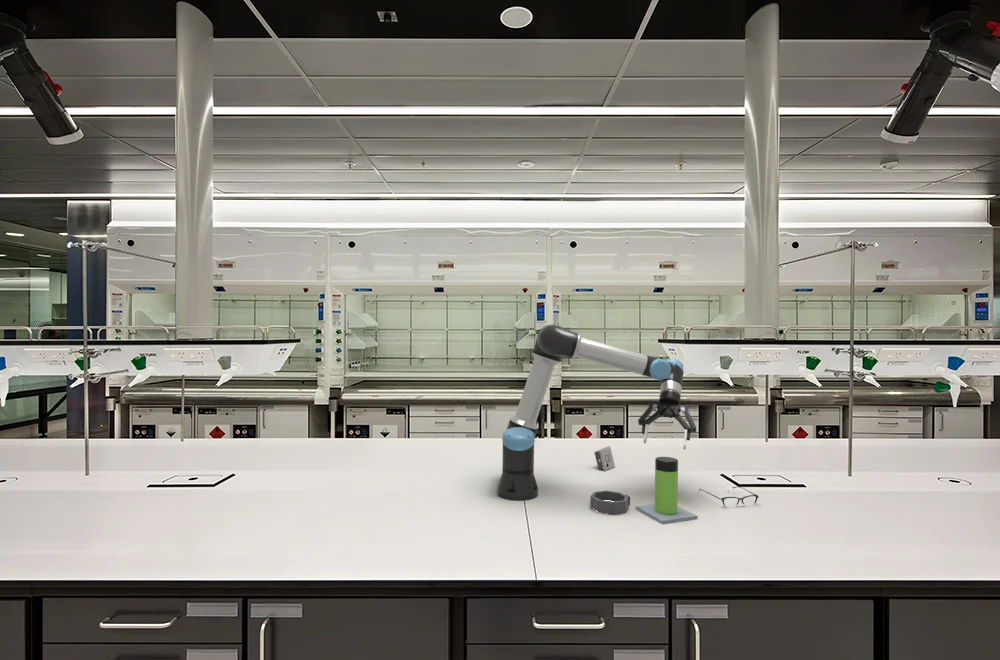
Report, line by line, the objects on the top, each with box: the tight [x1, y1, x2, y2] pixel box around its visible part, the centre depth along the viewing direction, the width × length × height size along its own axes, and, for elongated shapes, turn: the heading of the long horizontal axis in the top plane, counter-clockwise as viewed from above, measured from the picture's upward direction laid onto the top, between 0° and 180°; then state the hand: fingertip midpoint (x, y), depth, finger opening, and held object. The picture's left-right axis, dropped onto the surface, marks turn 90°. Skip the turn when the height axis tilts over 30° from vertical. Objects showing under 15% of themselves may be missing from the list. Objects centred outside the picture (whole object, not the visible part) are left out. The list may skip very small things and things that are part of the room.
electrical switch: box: [593, 446, 616, 472], centre depth 230 cm, size 9×5×9 cm, turn 141°
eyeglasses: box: [698, 486, 759, 507], centre depth 190 cm, size 16×16×4 cm
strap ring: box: [589, 490, 631, 515], centre depth 179 cm, size 14×12×4 cm
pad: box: [635, 503, 699, 525], centre depth 174 cm, size 14×14×1 cm
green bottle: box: [654, 456, 679, 515], centre depth 174 cm, size 7×7×17 cm
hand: (664, 444), depth 186 cm, fingers open, 13 cm apart
